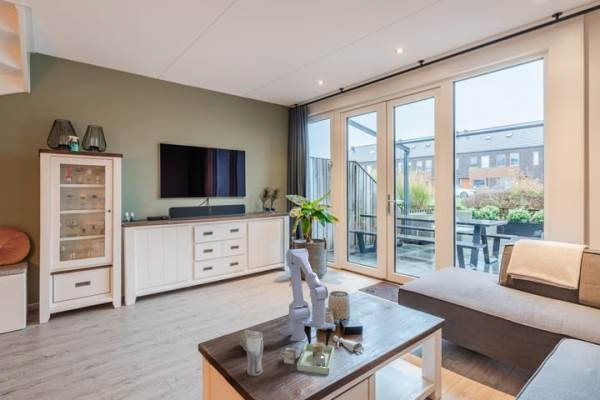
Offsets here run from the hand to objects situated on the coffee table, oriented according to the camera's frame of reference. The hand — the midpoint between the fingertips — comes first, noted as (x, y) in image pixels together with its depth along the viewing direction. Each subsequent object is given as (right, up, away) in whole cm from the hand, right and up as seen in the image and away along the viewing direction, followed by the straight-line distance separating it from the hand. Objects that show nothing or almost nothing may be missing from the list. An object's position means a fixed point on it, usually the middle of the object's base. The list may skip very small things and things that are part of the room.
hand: (318, 344), depth 137 cm
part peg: (0, -5, -10) cm, 11 cm away
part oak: (0, -5, -1) cm, 5 cm away
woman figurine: (+14, -6, +9) cm, 18 cm away
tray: (-1, -6, -4) cm, 7 cm away
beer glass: (-26, -6, -12) cm, 29 cm away
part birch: (-12, -6, -5) cm, 14 cm away
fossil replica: (-31, -5, +7) cm, 32 cm away
